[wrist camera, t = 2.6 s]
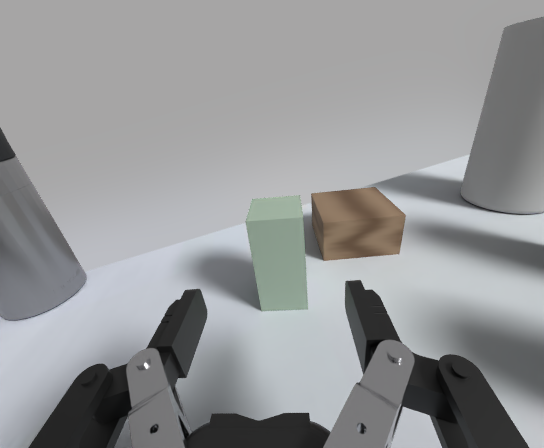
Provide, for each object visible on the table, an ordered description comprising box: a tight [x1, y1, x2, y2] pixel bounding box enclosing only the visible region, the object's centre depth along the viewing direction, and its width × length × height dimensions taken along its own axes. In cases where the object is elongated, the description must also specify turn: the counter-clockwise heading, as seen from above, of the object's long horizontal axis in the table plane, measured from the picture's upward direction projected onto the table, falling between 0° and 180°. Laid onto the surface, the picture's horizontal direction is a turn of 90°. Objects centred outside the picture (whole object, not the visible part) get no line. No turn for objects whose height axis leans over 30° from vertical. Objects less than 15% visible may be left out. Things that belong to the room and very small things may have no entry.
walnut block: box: [311, 187, 406, 261], centre depth 36 cm, size 10×10×6 cm
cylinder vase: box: [460, 17, 544, 214], centre depth 37 cm, size 12×12×25 cm
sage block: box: [246, 195, 308, 311], centre depth 26 cm, size 5×5×11 cm
